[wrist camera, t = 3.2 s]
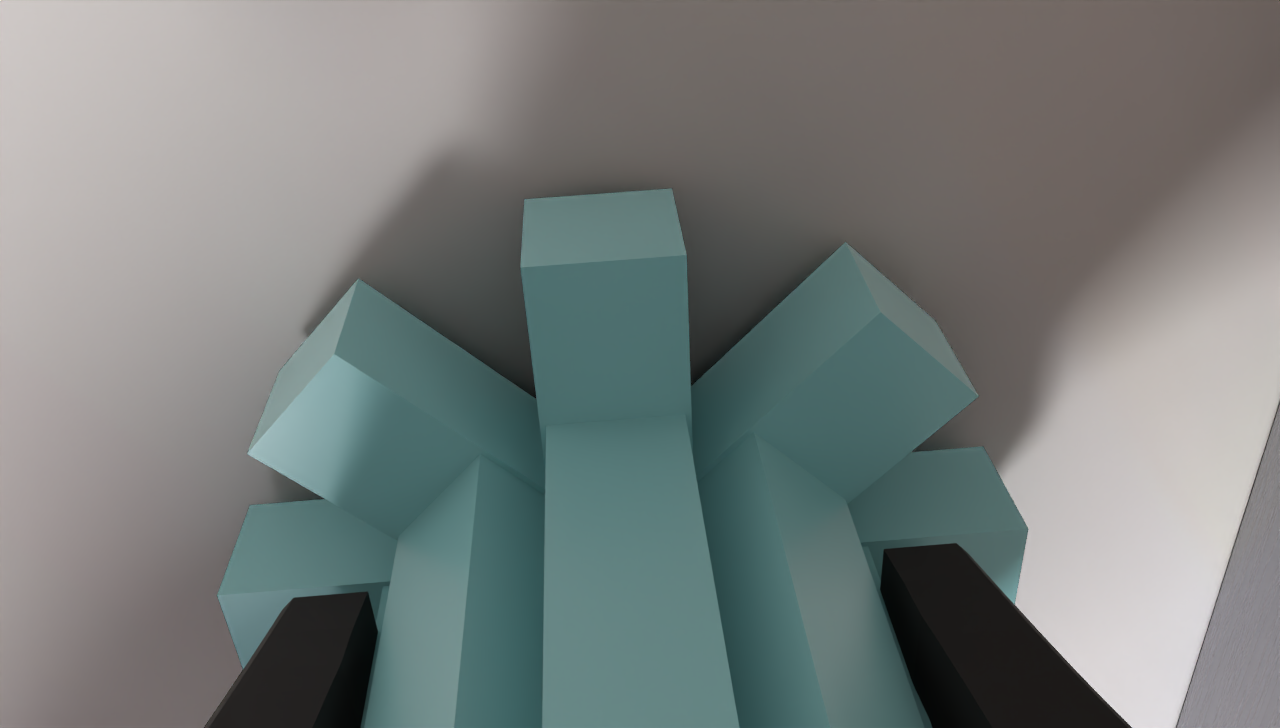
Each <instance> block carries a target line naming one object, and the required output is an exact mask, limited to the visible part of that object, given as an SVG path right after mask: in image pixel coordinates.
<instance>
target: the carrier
mask: <svg viewBox="0 0 1280 728" xmlns="http://www.w3.org/2000/svg"><path fill="white" fill-rule="evenodd" d="M1177 728H1280V405H1279V408H1278V411H1277V415H1276V418H1275V421H1274V424H1273V427H1272V430H1271V433H1270V436H1269V440H1268V443H1267V446H1266V449H1265V452H1264V455H1263V458H1262V462H1261V465H1260V468H1259V471H1258V474H1257V477H1256V480H1255V483H1254V487H1253V490H1252V493H1251V496H1250V499H1249V502H1248V505H1247V509H1246V512H1245V515H1244V518H1243V521H1242V524H1241V527H1240V531H1239V534H1238V537H1237V540H1236V543H1235V546H1234V549H1233V552H1232V556H1231V559H1230V562H1229V565H1228V568H1227V571H1226V574H1225V578H1224V581H1223V584H1222V587H1221V590H1220V593H1219V596H1218V600H1217V603H1216V606H1215V609H1214V612H1213V615H1212V618H1211V621H1210V625H1209V628H1208V631H1207V634H1206V637H1205V640H1204V643H1203V647H1202V650H1201V653H1200V656H1199V659H1198V662H1197V665H1196V668H1195V672H1194V675H1193V678H1192V681H1191V684H1190V687H1189V690H1188V694H1187V697H1186V700H1185V703H1184V706H1183V709H1182V712H1181V716H1180V719H1179V722H1178V725H1177Z"/></svg>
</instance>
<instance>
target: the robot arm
mask: <svg viewBox="0 0 1280 728" xmlns="http://www.w3.org/2000/svg"><path fill="white" fill-rule="evenodd" d="M880 591H881V594H882V597H883V600H884V603H885V606H886V608H887V611H888V614H889V617H890V620H891V623H892V626H893V629H894V631H895V634H896V637H897V640H898V643H899V646H900V649H901V651H902V654H903V657H904V660H905V663H906V666H907V669H908V671H909V674H910V677H911V680H912V683H913V685H914V687H915V690H916V692H917V694H918V696H919V698H920V700H921V702H922V705H923V707H924V709H925V711H926V713H927V715H928V717H929V720H930V722H931V725H932V728H1132V727H1131V726H1130V725H1129V724H1128V723H1127V722H1126V721H1125V720H1124V719H1123V718H1122V717H1121V716H1120V715H1119V714H1118V713H1117V712H1116V711H1115V710H1114V709H1113V708H1112V707H1111V706H1110V705H1109V704H1108V703H1107V702H1106V701H1105V700H1104V699H1103V698H1102V697H1101V696H1100V695H1099V694H1098V693H1097V692H1096V691H1095V690H1094V689H1093V688H1092V687H1091V686H1090V685H1089V684H1088V683H1087V682H1086V681H1085V680H1084V679H1083V678H1082V677H1081V676H1080V675H1079V674H1078V673H1077V671H1076V670H1075V669H1074V668H1073V667H1072V666H1071V665H1070V664H1069V663H1068V662H1067V661H1066V660H1065V659H1064V658H1063V657H1062V656H1061V654H1060V653H1059V652H1058V651H1057V650H1056V649H1055V648H1054V647H1053V646H1052V645H1051V644H1050V643H1049V642H1048V641H1047V640H1046V638H1045V637H1044V636H1043V635H1042V634H1041V633H1040V632H1039V631H1038V630H1037V629H1036V628H1035V627H1034V625H1033V624H1032V623H1031V622H1030V621H1029V620H1028V619H1027V618H1026V617H1025V616H1024V615H1023V613H1022V612H1021V611H1020V610H1019V609H1018V608H1017V607H1016V606H1015V605H1014V604H1013V602H1012V601H1011V600H1010V599H1009V598H1008V597H1007V596H1006V595H1005V594H1004V593H1003V591H1002V590H1001V589H1000V588H999V587H998V586H997V585H996V584H995V582H994V581H993V580H992V579H991V578H990V577H989V576H988V575H987V574H986V572H985V571H984V570H983V569H982V568H981V567H980V566H979V565H978V564H977V562H976V561H975V560H974V559H973V558H972V557H971V556H970V555H969V554H968V553H967V552H966V551H965V550H964V549H963V548H962V547H961V546H960V545H958V544H957V543H950V544H938V545H926V546H914V547H902V548H890V549H884V551H883V562H882V573H881V584H880ZM377 635H378V629H377V625H376V621H375V617H374V613H373V609H372V605H371V601H370V597H369V593H368V591H367V592H355V593H343V594H331V595H319V596H307V597H295V598H293V599H292V600H291V601H290V602H289V603H288V604H287V605H286V606H285V607H284V608H283V609H282V611H281V612H280V614H279V615H278V617H277V619H276V620H275V622H274V623H273V625H272V626H271V628H270V629H269V631H268V632H267V634H266V635H265V637H264V638H263V640H262V642H261V643H260V645H259V646H258V648H257V649H256V651H255V652H254V654H253V655H252V657H251V658H250V660H249V661H248V663H247V664H246V666H245V668H244V669H243V671H242V672H241V674H240V675H239V677H238V678H237V680H236V681H235V683H234V684H233V686H232V687H231V689H230V690H229V692H228V693H227V695H226V696H225V698H224V699H223V701H222V702H221V703H220V705H219V706H218V708H217V709H216V711H215V712H214V714H213V715H212V717H211V718H210V720H209V721H208V722H207V724H206V725H205V727H204V728H361V722H362V717H363V711H364V706H365V700H366V695H367V689H368V684H369V679H370V673H371V668H372V662H373V657H374V651H375V646H376V640H377Z"/></svg>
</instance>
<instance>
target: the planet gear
mask: <svg viewBox="0 0 1280 728" xmlns="http://www.w3.org/2000/svg"><path fill="white" fill-rule="evenodd" d="M520 269H521V277H522V285H523V293H524V302H525V310H526V318H527V326H528V334H529V342H530V351H531V359H532V367H533V375H534V383H535V392H536V398H534V397H533V396H531V395H530V394H528V393H527V392H525V391H524V390H522V389H521V388H519V387H518V386H516V385H515V384H513V383H512V382H511V381H509V380H508V379H506V378H505V377H503V376H502V375H500V374H499V373H497V372H496V371H494V370H493V369H491V368H490V367H488V366H487V365H485V364H484V363H483V362H481V361H480V360H478V359H477V358H475V357H474V356H472V355H471V354H469V353H468V352H466V351H465V350H463V349H462V348H460V347H459V346H458V345H456V344H455V343H453V342H452V341H450V340H449V339H447V338H446V337H444V336H443V335H441V334H440V333H438V332H437V331H435V330H434V329H432V328H431V327H430V326H428V325H427V324H425V323H424V322H422V321H421V320H419V319H418V318H416V317H415V316H413V315H412V314H410V313H409V312H407V311H406V310H404V309H403V308H402V307H400V306H399V305H397V304H396V303H394V302H393V301H391V300H390V299H388V298H387V297H385V296H384V295H382V294H381V293H379V292H378V291H376V290H375V289H374V288H372V287H371V286H369V285H368V284H366V283H365V282H363V281H362V280H360V279H359V278H358V279H357V280H356V282H355V283H354V284H353V285H352V286H351V287H350V289H349V290H348V291H347V292H346V293H345V294H344V296H343V297H342V298H341V299H340V300H339V302H338V303H337V304H336V305H335V306H334V307H333V309H332V310H331V311H330V312H329V313H328V314H327V316H326V317H325V318H324V319H323V320H322V321H321V323H320V324H319V325H318V326H317V327H316V329H315V330H314V331H313V332H312V333H311V334H310V336H309V337H308V338H307V339H306V340H305V341H304V343H303V344H302V345H301V346H300V347H299V349H298V350H297V351H296V352H295V353H294V354H293V356H292V357H291V358H290V359H289V360H288V361H287V363H286V364H285V365H284V366H283V367H282V368H281V370H280V371H279V373H278V375H277V378H276V381H275V383H274V386H273V388H272V391H271V393H270V396H269V399H268V401H267V404H266V406H265V409H264V411H263V414H262V416H261V419H260V422H259V424H258V427H257V429H256V432H255V434H254V437H253V439H252V442H251V445H250V447H249V450H248V452H247V454H248V455H249V456H251V457H253V458H255V459H256V460H258V461H260V462H262V463H263V464H265V465H267V466H268V467H270V468H272V469H274V470H275V471H277V472H279V473H281V474H282V475H284V476H286V477H288V478H289V479H291V480H293V481H295V482H296V483H298V484H300V485H301V486H303V487H305V488H307V489H308V490H310V491H312V492H314V493H315V494H317V495H319V496H321V497H322V498H324V499H319V500H307V501H294V502H282V503H269V504H257V505H250V506H249V509H248V511H247V514H246V517H245V520H244V523H243V525H242V528H241V531H240V534H239V536H238V539H237V542H236V545H235V547H234V550H233V553H232V556H231V558H230V561H229V564H228V567H227V569H226V572H225V575H224V578H223V580H222V583H221V586H220V589H219V591H218V594H217V597H218V600H219V603H220V606H221V608H222V611H223V614H224V617H225V620H226V623H227V625H228V628H229V631H230V634H231V637H232V640H233V643H234V645H235V648H236V651H237V654H238V657H239V660H240V662H241V665H242V668H243V669H244V668H245V666H246V664H247V663H248V661H249V660H250V658H251V657H252V655H253V654H254V652H255V651H256V649H257V648H258V646H259V645H260V643H261V642H262V640H263V638H264V637H265V635H266V634H267V632H268V631H269V629H270V628H271V626H272V625H273V623H274V622H275V620H276V619H277V617H278V615H279V614H280V612H281V611H282V609H283V608H284V607H285V606H286V605H287V604H288V603H289V602H290V601H291V600H292V599H293V598H295V597H307V596H319V595H331V594H343V593H355V592H367V591H368V593H369V597H370V601H371V605H372V609H373V613H374V617H375V621H376V625H377V629H378V635H377V640H376V646H375V651H374V657H373V662H372V668H371V673H370V679H369V684H368V689H367V695H366V700H365V706H364V711H363V717H362V722H361V728H932V725H931V722H930V720H929V717H928V715H927V713H926V711H925V709H924V707H923V705H922V702H921V700H920V698H919V696H918V694H917V692H916V690H915V687H914V685H913V683H912V680H911V677H910V674H909V671H908V669H907V666H906V663H905V660H904V657H903V654H902V651H901V649H900V646H899V643H898V640H897V637H896V634H895V631H894V629H893V626H892V623H891V620H890V617H889V614H888V611H887V608H886V606H885V603H884V600H883V597H882V594H881V591H880V584H881V573H882V562H883V551H884V549H890V548H902V547H914V546H926V545H938V544H950V543H957V544H958V545H960V546H961V547H962V548H963V549H964V550H965V551H966V552H967V553H968V554H969V555H970V556H971V557H972V558H973V559H974V560H975V561H976V562H977V564H978V565H979V566H980V567H981V568H982V569H983V570H984V571H985V572H986V574H987V575H988V576H989V577H990V578H991V579H992V580H993V581H994V582H995V584H996V585H997V586H998V587H999V588H1000V589H1001V590H1002V591H1003V593H1004V594H1005V595H1006V596H1007V597H1008V598H1009V599H1010V600H1011V601H1012V602H1013V604H1014V605H1015V599H1016V594H1017V588H1018V583H1019V577H1020V572H1021V566H1022V561H1023V555H1024V550H1025V544H1026V539H1027V533H1028V527H1027V526H1026V524H1025V522H1024V520H1023V518H1022V516H1021V515H1020V513H1019V511H1018V509H1017V507H1016V505H1015V504H1014V502H1013V500H1012V498H1011V496H1010V494H1009V493H1008V491H1007V489H1006V487H1005V485H1004V483H1003V482H1002V480H1001V478H1000V476H999V474H998V472H997V471H996V469H995V467H994V465H993V463H992V461H991V460H990V458H989V456H988V454H987V452H986V450H985V449H984V447H983V446H981V447H969V448H956V449H944V450H931V451H919V452H912V451H913V450H914V449H915V448H917V447H918V446H919V445H920V444H921V443H923V442H924V441H925V440H926V439H928V438H929V437H930V436H931V435H932V434H934V433H935V432H936V431H937V430H939V429H940V428H941V427H942V426H943V425H945V424H946V423H947V422H948V421H950V420H951V419H952V418H953V417H954V416H956V415H957V414H958V413H959V412H961V411H962V410H963V409H964V408H965V407H967V406H968V405H969V404H970V403H972V402H973V401H974V400H975V399H976V398H978V397H979V395H978V394H977V392H976V390H975V389H974V387H973V385H972V383H971V382H970V380H969V378H968V376H967V375H966V373H965V371H964V369H963V368H962V366H961V364H960V363H959V361H958V359H957V357H956V356H955V354H954V352H953V350H952V349H951V347H950V345H949V343H948V342H947V340H946V338H945V337H944V335H943V333H942V331H941V330H940V328H939V326H938V324H937V323H936V321H935V320H934V319H933V318H932V317H931V316H929V315H928V314H927V313H926V312H925V311H924V310H923V309H921V308H920V307H919V306H918V305H917V304H916V303H915V302H913V301H912V300H911V299H910V298H909V297H908V296H907V295H905V294H904V293H903V292H902V291H901V290H900V289H899V288H897V287H896V286H895V285H894V284H893V283H892V282H891V281H890V280H888V279H887V278H886V277H885V276H884V275H883V274H882V273H880V272H879V271H878V270H877V269H876V268H875V267H874V266H872V265H871V264H870V263H869V262H868V261H867V260H866V259H864V258H863V257H862V256H861V255H860V254H859V253H858V252H856V251H855V250H854V249H853V248H852V247H851V246H850V245H848V244H847V243H846V242H845V243H844V244H843V245H842V246H840V247H839V248H838V249H837V250H836V251H835V252H834V253H833V254H832V255H831V256H830V257H829V258H828V259H827V260H825V261H824V262H823V263H822V264H821V265H820V266H819V267H818V268H817V269H816V270H815V271H814V272H813V273H812V274H811V275H809V276H808V277H807V278H806V279H805V280H804V281H803V282H802V283H801V284H800V285H799V286H798V287H797V288H796V289H795V290H793V291H792V292H791V293H790V294H789V295H788V296H787V297H786V298H785V299H784V300H783V301H782V302H781V303H780V304H779V305H777V306H776V307H775V308H774V309H773V310H772V311H771V312H770V313H769V314H768V315H767V316H766V317H765V318H764V319H763V320H761V321H760V322H759V323H758V324H757V325H756V326H755V327H754V328H753V329H752V330H751V331H750V332H749V333H748V334H746V335H745V336H744V337H743V338H742V339H741V340H740V341H739V342H738V343H737V344H736V345H735V346H734V347H733V348H732V349H730V350H729V351H728V352H727V353H726V354H725V355H724V356H723V357H722V358H721V359H720V360H719V361H718V362H717V363H716V364H714V365H713V366H712V367H711V368H710V369H709V370H708V371H707V372H706V373H705V374H704V375H703V376H702V377H701V378H700V379H698V380H697V381H696V382H695V383H694V384H693V385H692V386H691V376H690V343H689V311H688V279H687V254H686V249H685V245H684V240H683V236H682V231H681V227H680V222H679V218H678V213H677V209H676V204H675V200H674V195H673V191H672V188H670V189H657V190H643V191H629V192H616V193H602V194H588V195H575V196H561V197H547V198H534V199H524V213H523V230H522V248H521V265H520Z"/></svg>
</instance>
